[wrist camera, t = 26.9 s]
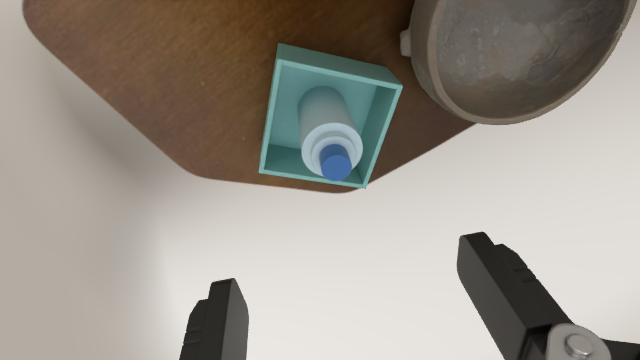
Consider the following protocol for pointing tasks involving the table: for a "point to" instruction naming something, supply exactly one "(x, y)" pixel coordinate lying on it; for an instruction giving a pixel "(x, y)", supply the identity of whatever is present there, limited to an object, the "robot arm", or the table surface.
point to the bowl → (510, 53)
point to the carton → (358, 92)
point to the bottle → (328, 134)
